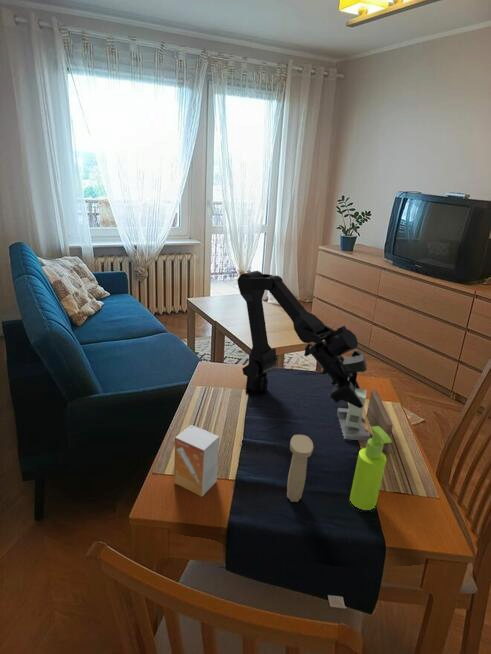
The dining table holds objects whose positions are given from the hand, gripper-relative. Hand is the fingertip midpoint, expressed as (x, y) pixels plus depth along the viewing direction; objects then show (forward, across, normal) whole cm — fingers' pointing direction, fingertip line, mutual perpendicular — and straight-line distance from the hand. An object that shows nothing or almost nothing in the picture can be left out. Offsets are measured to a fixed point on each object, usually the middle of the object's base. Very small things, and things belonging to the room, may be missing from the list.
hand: (361, 402), depth 126 cm
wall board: (+10, 0, +2) cm, 10 cm away
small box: (-18, -38, +31) cm, 53 cm away
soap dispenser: (+9, -31, +4) cm, 32 cm away
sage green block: (+4, 0, +6) cm, 7 cm away
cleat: (+5, 0, +7) cm, 9 cm away
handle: (-2, -35, +15) cm, 38 cm away
